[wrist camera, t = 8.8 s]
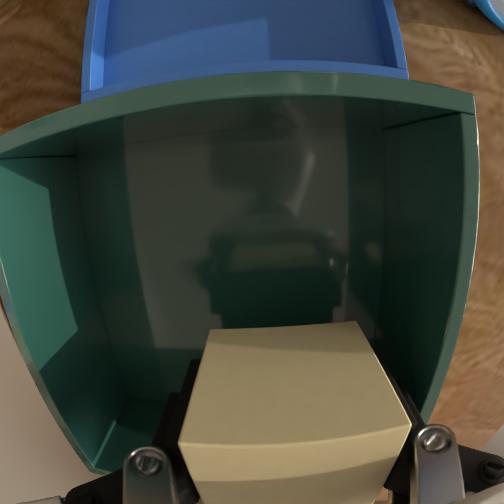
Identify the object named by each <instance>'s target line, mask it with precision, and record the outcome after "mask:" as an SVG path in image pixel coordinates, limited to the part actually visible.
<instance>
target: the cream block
mask: <svg viewBox="0 0 504 504" xmlns="http://www.w3.org/2000/svg"><path fill="white" fill-rule="evenodd" d="M410 429H411V422H410V420H409V418H408V416H407V414H406V412H405V410H404V408H403V406H402V404H401V402H400V400H399V398H398V396H397V394H396V392H395V390H394V388H393V387H392V385H391V383H390V381H389V379H388V377H387V375H386V373H385V372H384V370H383V368H382V366H381V364H380V362H379V360H378V359H377V357H376V355H375V353H374V351H373V350H372V348H371V346H370V344H369V342H368V341H367V339H366V337H365V335H364V334H363V332H362V330H361V328H360V326H359V325H358V323H357V321H348V322H337V323H326V324H314V325H300V326H285V327H266V328H242V329H211V330H210V331H209V335H208V338H207V342H206V345H205V348H204V352H203V355H202V359H201V362H200V366H199V369H198V373H197V376H196V380H195V383H194V387H193V390H192V394H191V397H190V401H189V404H188V408H187V411H186V415H185V419H184V422H183V426H182V429H181V433H180V437H179V440H178V446H179V448H180V451H181V453H182V456H183V458H184V461H185V463H186V466H187V468H188V471H189V473H190V475H191V478H192V480H193V482H194V484H195V487H196V489H197V491H198V493H199V495H200V498H201V500H202V502H203V504H373V503H374V501H375V499H376V497H377V496H378V494H379V492H380V490H381V489H382V487H383V485H384V483H385V481H386V479H387V478H388V476H389V474H390V472H391V470H392V468H393V466H394V464H395V462H396V460H397V458H398V456H399V454H400V451H401V449H402V447H403V445H404V443H405V440H406V438H407V436H408V433H409V431H410Z"/></svg>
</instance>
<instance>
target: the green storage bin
mask: <svg viewBox="0 0 504 504" xmlns="http://www.w3.org/2000/svg"><path fill="white" fill-rule="evenodd" d="M475 114H476V107H475V99H474V95H473V94H472V93H468V92H464V91H460V90H456V89H452V88H448V87H443V86H439V85H434V84H429V83H424V82H418V81H413V80H407V79H400V78H393V77H386V76H378V75H369V74H358V73H345V72H327V71H266V72H248V73H235V74H224V75H214V76H206V77H198V78H191V79H184V80H178V81H172V82H166V83H161V84H156V85H151V86H146V87H141V88H137V89H132V90H128V91H124V92H120V93H116V94H112V95H108V96H105V97H101V98H98V99H94V100H91V101H87V102H84V103H81V104H78V105H75V106H72V107H69V108H66V109H63V110H60V111H57V112H54V113H52V114H49V115H46V116H44V117H41V118H39V119H36V120H34V121H31V122H29V123H26V124H24V125H22V126H19V127H17V128H15V129H12V130H10V131H8V132H6V133H4V134H2V135H0V295H1V299H2V302H3V305H4V308H5V311H6V314H7V317H8V320H9V323H10V326H11V328H12V331H13V334H14V336H15V339H16V342H17V344H18V347H19V349H20V351H21V354H22V356H23V358H24V361H25V363H26V365H27V367H28V370H29V372H30V374H31V376H32V378H33V380H34V382H35V384H36V386H37V388H38V390H39V392H40V394H41V396H42V398H43V400H44V401H45V403H46V405H47V407H48V409H49V410H50V412H51V414H52V416H53V417H54V419H55V421H56V422H57V424H58V426H59V427H60V429H61V430H62V432H63V433H64V435H65V437H66V438H67V440H68V442H69V443H70V445H71V446H72V448H73V449H74V450H75V452H76V453H77V455H78V456H79V458H80V459H81V460H82V462H83V463H84V464H85V465H86V467H87V468H88V470H89V471H90V472H93V473H96V474H100V475H103V476H105V475H107V474H110V473H112V472H115V471H117V470H119V469H121V468H123V462H124V458H125V456H126V455H127V453H128V452H129V451H131V450H132V449H134V448H136V447H138V446H142V445H151V444H152V441H153V438H154V435H155V432H156V430H157V427H158V424H159V421H160V418H161V416H162V413H163V410H164V408H165V405H166V402H167V399H168V397H169V395H170V393H171V392H178V393H180V391H181V388H182V385H183V382H184V379H185V376H186V373H187V370H188V367H189V364H190V361H191V359H202V355H203V352H204V348H205V345H206V342H207V338H208V335H209V331H210V330H211V329H242V328H266V327H285V326H300V325H314V324H326V323H337V322H348V321H357V323H358V325H359V326H360V328H361V330H362V332H363V334H364V335H365V337H366V339H367V341H368V342H369V344H370V346H371V348H377V350H378V351H379V353H380V355H381V356H382V358H383V360H384V362H385V363H386V365H387V367H388V369H389V371H390V372H391V374H392V376H393V378H399V379H400V380H401V381H402V383H403V385H404V387H405V388H406V390H407V392H408V394H409V396H410V397H411V399H412V401H413V403H414V404H415V406H416V408H417V410H418V412H419V413H420V415H421V417H422V419H423V421H424V423H425V425H427V424H428V421H429V419H430V417H431V414H432V412H433V410H434V407H435V405H436V402H437V400H438V397H439V394H440V392H441V389H442V386H443V384H444V381H445V378H446V375H447V372H448V369H449V366H450V363H451V360H452V357H453V353H454V350H455V347H456V343H457V340H458V336H459V332H460V328H461V324H462V320H463V316H464V312H465V307H466V303H467V298H468V293H469V287H470V282H471V276H472V270H473V263H474V256H475V248H476V239H477V228H478V215H479V193H480V160H479V138H478V125H477V117H476V116H475Z"/></svg>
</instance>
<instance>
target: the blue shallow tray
mask: <svg viewBox="0 0 504 504" xmlns="http://www.w3.org/2000/svg"><path fill="white" fill-rule="evenodd" d="M266 71H327V72H345V73H358V74H369V75H378V76H386V77H393V78H400V79H407V80H409V76H408V70H407V63H406V58H405V52H404V47H403V42H402V37H401V33H400V28H399V24H398V20H397V16H396V12H395V8H394V4H393V1H392V0H90V1H89V7H88V14H87V21H86V29H85V37H84V47H83V59H82V75H81V93H82V94H81V103H84V102H87V101H91V100H94V99H98V98H101V97H105V96H108V95H112V94H116V93H120V92H124V91H128V90H132V89H137V88H141V87H146V86H151V85H156V84H161V83H166V82H172V81H178V80H184V79H191V78H198V77H206V76H214V75H224V74H235V73H248V72H266Z"/></svg>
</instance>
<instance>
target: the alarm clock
mask: <svg viewBox="0 0 504 504" xmlns="http://www.w3.org/2000/svg"><path fill="white" fill-rule="evenodd" d="M463 5H464V6H465V7H478V8H479V9H480V10H481V12H482V13H483V14H484V15H485V16H486V17H487V18H489V19H490V20H491V21H492V22H493V23H494V24H495V25H497V26H498V27H499V28H501V29H502V30H504V0H466V1H463Z"/></svg>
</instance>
